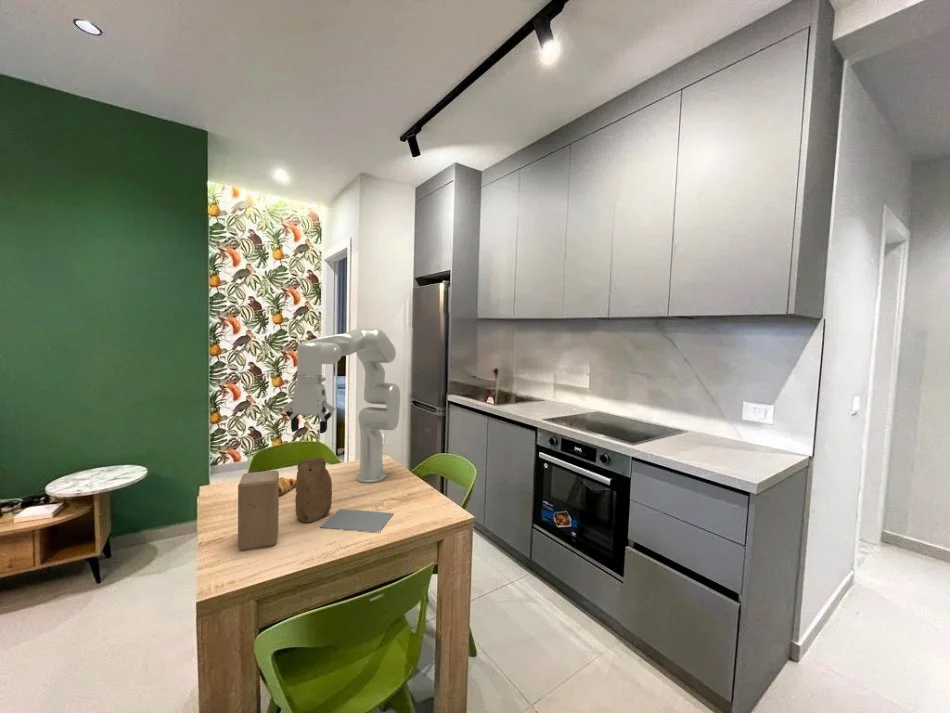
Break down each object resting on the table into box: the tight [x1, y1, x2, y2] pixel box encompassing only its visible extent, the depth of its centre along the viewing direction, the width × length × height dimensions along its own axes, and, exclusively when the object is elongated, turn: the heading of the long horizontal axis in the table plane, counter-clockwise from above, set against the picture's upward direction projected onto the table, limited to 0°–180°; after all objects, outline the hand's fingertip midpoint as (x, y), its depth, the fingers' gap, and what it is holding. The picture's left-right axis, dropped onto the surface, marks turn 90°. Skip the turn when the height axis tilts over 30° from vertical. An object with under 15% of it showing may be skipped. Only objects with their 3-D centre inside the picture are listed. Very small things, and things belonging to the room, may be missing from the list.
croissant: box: [279, 477, 296, 496], centre depth 155 cm, size 21×10×8 cm, turn 150°
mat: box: [319, 508, 394, 533], centre depth 134 cm, size 14×20×1 cm
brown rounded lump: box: [294, 457, 333, 523], centre depth 135 cm, size 11×8×20 cm
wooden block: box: [237, 469, 280, 552], centre depth 118 cm, size 10×10×20 cm
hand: (309, 431), depth 130 cm, fingers open, 9 cm apart
